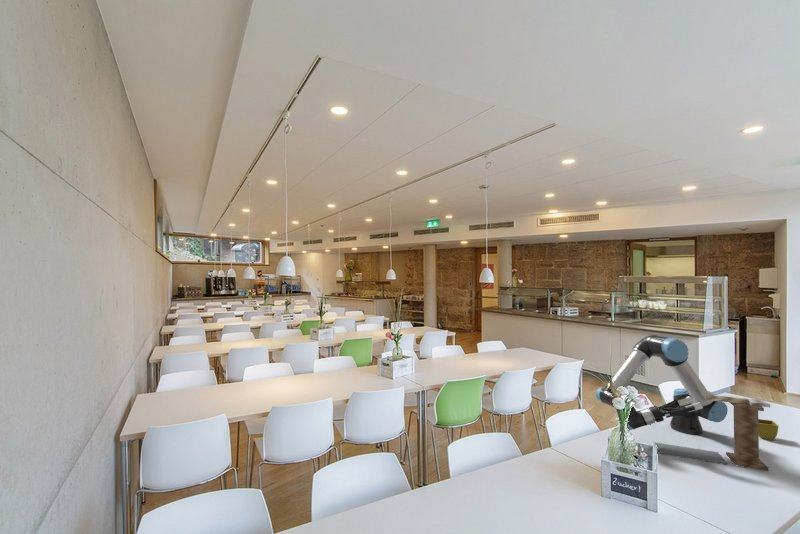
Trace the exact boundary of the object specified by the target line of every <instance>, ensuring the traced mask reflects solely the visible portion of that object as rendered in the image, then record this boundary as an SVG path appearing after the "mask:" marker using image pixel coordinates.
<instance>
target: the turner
mask: <svg viewBox="0 0 800 534" xmlns="http://www.w3.org/2000/svg"><path fill="white" fill-rule="evenodd" d="M706 399H707V400H712V401H722V402H724V403H729V402H733V403H743V404H750V405H751V406H761V407H763V408H771V403H769V402H767V401H765V400H763V399H758V398H748V397H735V396H724V395H721V396H720V395H706Z"/></svg>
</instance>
